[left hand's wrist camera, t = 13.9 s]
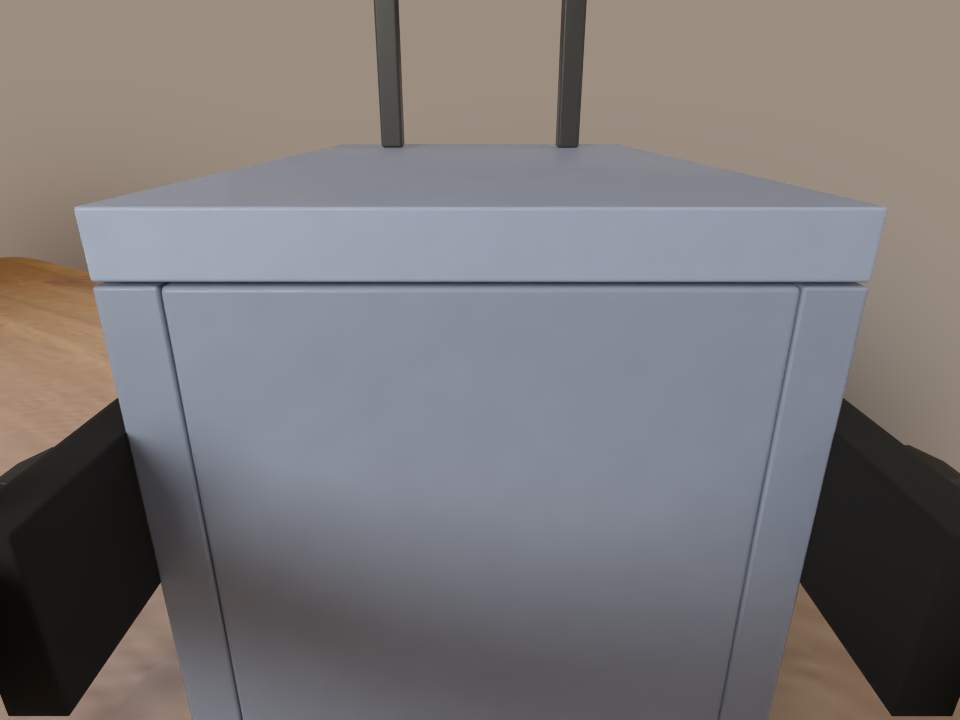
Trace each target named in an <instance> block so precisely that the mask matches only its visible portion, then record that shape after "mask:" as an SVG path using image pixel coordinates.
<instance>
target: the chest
mask: <svg viewBox="0 0 960 720" xmlns="http://www.w3.org/2000/svg"><path fill="white" fill-rule="evenodd" d="M93 291H94V296H95V300H96V304H97V309H98V313H99V317H100V321H101V326H102V330H103V334H104V339H105V343H106V347H107V352H108V356H109V360H110V365H111V369H112V373H113V378H114V382H115V386H116V391H117V395H118V399H119V404H120V408H121V412H122V417H123V421H124V425H125V430H126V434H127V438H128V443H129V447H130V451H131V456H132V460H133V464H134V469H135V473H136V477H137V482H138V486H139V490H140V494H141V499H142V503H143V507H144V512H145V516H146V520H147V525H148V529H149V533H150V538H151V542H152V546H153V551H154V555H155V559H156V564H157V568H158V572H159V577H160V581H161V585H162V590H163V594H164V598H165V603H166V607H167V611H168V616H169V620H170V624H171V629H172V633H173V637H174V642H175V646H176V650H177V655H178V659H179V663H180V668H181V672H182V676H183V680H184V685H185V689H186V693H187V698H188V702H189V706H190V711H191V715H192V719H193V720H768V717H769V713H770V708H771V704H772V700H773V695H774V691H775V687H776V683H777V678H778V674H779V670H780V665H781V661H782V657H783V653H784V648H785V644H786V640H787V635H788V631H789V627H790V623H791V618H792V614H793V610H794V605H795V601H796V597H797V593H798V588H799V584H800V578H801V574H802V570H803V565H804V561H805V557H806V553H807V548H808V544H809V540H810V535H811V531H812V527H813V522H814V518H815V514H816V510H817V505H818V501H819V497H820V492H821V488H822V484H823V479H824V475H825V471H826V467H827V462H828V458H829V454H830V449H831V445H832V441H833V436H834V432H835V430H836V425H837V421H838V417H839V413H840V408H841V404H842V400H843V395H844V391H845V387H846V382H847V378H848V374H849V370H850V366H851V361H852V357H853V353H854V348H855V344H856V340H857V336H858V331H859V327H860V323H861V318H862V314H863V310H864V305H865V301H866V297H867V293H868V289H867V287H865V286H863V285H861V284H858V283H856V282H104V283H102V284H100V285H97V286H95V287H94V289H93Z"/></svg>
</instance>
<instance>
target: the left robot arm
mask: <svg viewBox="0 0 960 720" xmlns="http://www.w3.org/2000/svg"><path fill="white" fill-rule="evenodd" d="M160 583H161V581H160V577H159V572H158V568H157V564H156V559H155V555H154V551H153V546H152V542H151V538H150V533H149V529H148V525H147V520H146V516H145V512H144V507H143V503H142V499H141V494H140V490H139V486H138V482H137V477H136V473H135V469H134V464H133V460H132V456H131V451H130V447H129V443H128V438H127V434H126V430H125V425H124V421H123V417H122V412H121V408H120V404H119V399H118V398H117V399H116V400H114V401H113V402H112V403H111V404H109V405H108V406H107V407H105V408H104V409H103V410H101V411H100V412H99V413H98V414H96V415H95V416H94V417H92V418H91V419H90V420H89V421H87V422H86V423H85V424H83V425H82V426H81V427H80V428H78V429H77V430H76V431H74V432H73V433H72V434H70V435H69V436H68V437H67V438H65V439H64V440H63V441H61V442H60V443H59V444H58V445H56V446H55V447H52V448H50V449H48V450H46V451H43V452H41V453H39V454H37V455H35V456H33V457H31V458H29V459H27V460H25V461H22V462H20V463H18V464H17V465H15V466H14V467H13V468H11V469H10V470H9V471H7V472H6V473H5V474H3V475H2V476H1V477H0V695H1V697H2V700H3V703H4V705H5V708H6V710H7V713H8V716H69V715H70V714H71V712H72V711H73V709H74V708H75V706H76V705H77V704H78V702H79V701H80V699H81V698H82V696H83V695H84V693H85V692H86V690H87V689H88V688H89V686H90V685H91V683H92V682H93V680H94V679H95V677H96V676H97V674H98V673H99V672H100V670H101V669H102V667H103V666H104V664H105V663H106V661H107V660H108V658H109V657H110V655H111V654H112V653H113V651H114V650H115V648H116V647H117V645H118V644H119V642H120V641H121V639H122V638H123V637H124V635H125V634H126V632H127V631H128V629H129V628H130V626H131V625H132V623H133V622H134V621H135V619H136V618H137V616H138V615H139V613H140V612H141V610H142V609H143V607H144V606H145V604H146V603H147V602H148V600H149V599H150V597H151V596H152V594H153V593H154V591H155V590H156V588H157V587H158V586H159V584H160ZM800 583H801V585H802V586H803V587H804V589H805V590H806V592H807V593H808V595H809V596H810V598H811V599H812V601H813V602H814V604H815V605H816V606H817V608H818V609H819V611H820V612H821V614H822V615H823V617H824V618H825V620H826V621H827V622H828V624H829V625H830V627H831V628H832V630H833V631H834V633H835V634H836V636H837V637H838V638H839V640H840V641H841V643H842V644H843V646H844V647H845V649H846V650H847V652H848V653H849V654H850V656H851V657H852V659H853V660H854V662H855V663H856V665H857V666H858V668H859V669H860V671H861V672H862V673H863V675H864V676H865V678H866V679H867V681H868V682H869V684H870V685H871V687H872V688H873V689H874V691H875V692H876V694H877V695H878V697H879V698H880V700H881V701H882V703H883V704H884V705H885V707H886V708H887V710H888V711H889V713H890V714H891V716H952V715H953V713H954V710H955V708H956V705H957V702H958V700H959V697H960V473H959V472H957V471H956V470H955V469H953V468H952V467H951V466H949V465H948V464H946V463H945V462H944V461H942V460H940V459H937V458H935V457H933V456H931V455H929V454H927V453H925V452H922V451H920V450H918V449H916V448H914V447H912V446H910V445H903V444H902V443H901V442H899V441H898V440H897V439H895V438H894V437H893V436H892V435H890V434H889V433H888V432H886V431H885V430H884V429H882V428H881V427H880V426H879V425H877V424H876V423H875V422H873V421H872V420H871V419H870V418H868V417H867V416H866V415H864V414H863V413H862V412H860V411H859V410H858V409H856V408H855V407H854V406H853V405H851V404H850V403H849V402H848V401H846V400H845V399H844V398H843V400H842V404H841V408H840V413H839V417H838V421H837V425H836V430H835V432H834V436H833V441H832V445H831V449H830V454H829V458H828V462H827V467H826V471H825V475H824V479H823V484H822V488H821V492H820V497H819V501H818V505H817V510H816V514H815V518H814V522H813V527H812V531H811V535H810V540H809V544H808V548H807V553H806V557H805V561H804V565H803V570H802V574H801V578H800Z"/></svg>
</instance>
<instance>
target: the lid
mask: <svg viewBox="0 0 960 720" xmlns="http://www.w3.org/2000/svg"><path fill="white" fill-rule="evenodd" d="M586 2H587V0H562V12H561V36H560V58H559V81H558V104H557V128H556V144H404V124H403V100H402V76H401V52H400V28H399V5H398V0H374V13H375V31H376V49H377V67H378V85H379V104H380V122H381V141H382V144H342V145H339V146H334V147H330V148H325V149H321V150H317V151H312V152H308V153H304V154H299V155H295V156H291V157H287V158H282V159H278V160H274V161H269V162H265V163H261V164H257V165H252V166H248V167H244V168H239V169H235V170H231V171H227V172H222V173H218V174H214V175H210V176H205V177H201V178H197V179H192V180H188V181H183V182H179V183H175V184H171V185H166V186H162V187H158V188H153V189H149V190H145V191H140V192H137V193H132V194H128V195H123V196H119V197H115V198H110V199H106V200H102V201H98V202H94V203H89V204H85V205H81V206H77V207H75V210H74V211H75V215H76V219H77V224H78V228H79V232H80V236H81V240H82V245H83V249H84V253H85V257H86V262H87V266H88V270H89V274H90V278H91V280H92V281H94V282H869V281H870V280H871V277H872V273H873V268H874V264H875V260H876V256H877V252H878V247H879V243H880V239H881V235H882V231H883V226H884V222H885V218H886V214H887V208H886V207H884V206H879V205H875V204H871V203H866V202H862V201H858V200H853V199H849V198H845V197H840V196H836V195H832V194H828V193H823V192H819V191H815V190H810V189H806V188H802V187H797V186H793V185H789V184H785V183H780V182H776V181H772V180H767V179H763V178H759V177H754V176H750V175H746V174H742V173H737V172H733V171H728V170H724V169H720V168H716V167H711V166H707V165H703V164H699V163H694V162H690V161H686V160H681V159H677V158H673V157H668V156H664V155H660V154H655V153H651V152H647V151H642V150H638V149H634V148H630V147H625V146H621V145H617V144H579V126H580V108H581V91H582V72H583V55H584V37H585V20H586Z"/></svg>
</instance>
